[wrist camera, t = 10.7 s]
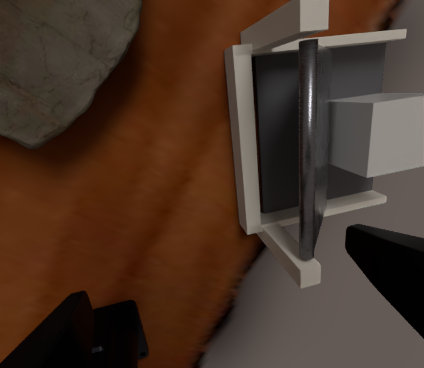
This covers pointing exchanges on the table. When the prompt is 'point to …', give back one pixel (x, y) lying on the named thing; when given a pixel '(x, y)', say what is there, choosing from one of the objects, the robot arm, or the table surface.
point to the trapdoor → (313, 141)
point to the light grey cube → (377, 133)
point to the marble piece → (57, 61)
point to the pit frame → (293, 122)
